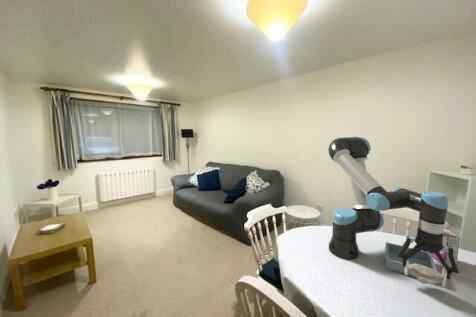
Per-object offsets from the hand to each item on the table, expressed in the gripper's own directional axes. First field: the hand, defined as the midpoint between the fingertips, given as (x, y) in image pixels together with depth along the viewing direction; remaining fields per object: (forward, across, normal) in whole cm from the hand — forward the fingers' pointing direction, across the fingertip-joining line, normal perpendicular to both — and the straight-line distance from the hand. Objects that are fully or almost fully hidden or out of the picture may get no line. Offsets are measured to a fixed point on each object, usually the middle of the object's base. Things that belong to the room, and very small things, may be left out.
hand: (423, 278), depth 83 cm
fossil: (+1, 0, 0) cm, 1 cm away
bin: (+5, -3, +15) cm, 17 cm away
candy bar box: (+5, +11, +28) cm, 31 cm away
